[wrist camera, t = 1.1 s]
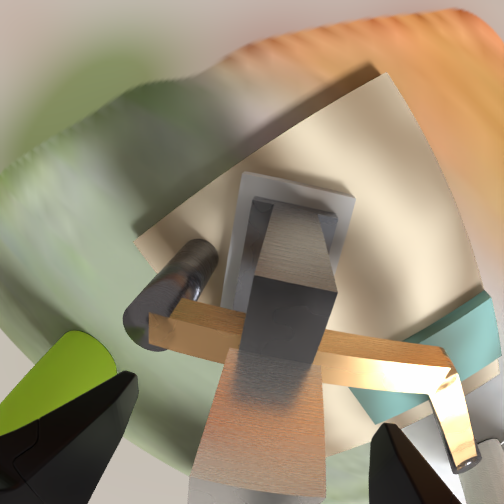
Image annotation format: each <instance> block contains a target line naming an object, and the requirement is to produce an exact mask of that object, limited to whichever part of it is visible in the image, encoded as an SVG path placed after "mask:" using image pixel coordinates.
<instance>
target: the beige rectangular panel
mask: <svg viewBox="0 0 504 504" xmlns="http://www.w3.org/2000/svg"><path fill="white" fill-rule="evenodd" d="M254 196H259V197H264V198H268V199H273V200H278V201H283V202H287V203H292V204H297V205H301V206H306V207H310V208H314V209H319V210H323V211H328V212H332V213H336V215H337V217H338V222H337V226H336V230H335V234H334V237H333V241H332V245H331V248H330V252H329V258H330V262H331V266H332V270H333V274H334V278H335V282H336V286H337V290H338V294H337V297H336V300H335V303H334V306H333V309H332V312H331V315H330V317H329V320H328V323H327V326H326V329H328V330H334V331H339V332H345V333H351V334H357V335H363V336H369V337H375V338H381V339H388V340H394V341H401V342H408V343H415V344H422V345H430V346H438V347H442V348H444V349H445V350H446V352H447V354H448V356H449V358H450V359H451V361H452V363H453V365H454V367H455V369H456V371H457V373H458V376H459V380H460V383H461V387H462V390H463V394H464V396H465V395H467V394H469V393H470V392H472V391H474V390H475V389H477V388H479V387H480V386H482V385H483V384H485V383H486V382H488V381H489V380H491V379H493V378H494V377H496V376H497V375H498V374H500V371H499V363H498V358H499V357H500V356H502V354H501V347H500V340H499V334H498V328H497V323H496V318H495V313H494V308H493V303H492V299H491V297H490V296H489V294H488V293H487V292H486V291H485V290H484V287H483V283H482V280H481V276H480V272H479V269H478V266H477V262H476V259H475V256H474V252H473V249H472V246H471V243H470V240H469V237H468V234H467V231H466V229H465V226H464V223H463V220H462V218H461V215H460V212H459V210H458V207H457V205H456V202H455V200H454V197H453V195H452V193H451V190H450V188H449V186H448V183H447V181H446V179H445V176H444V174H443V172H442V170H441V168H440V166H439V163H438V161H437V159H436V157H435V155H434V153H433V151H432V149H431V147H430V145H429V143H428V141H427V139H426V137H425V135H424V134H423V132H422V130H421V128H420V126H419V124H418V122H417V121H416V119H415V117H414V115H413V114H412V112H411V110H410V108H409V107H408V105H407V103H406V102H405V100H404V98H403V97H402V95H401V93H400V92H399V90H398V89H397V87H396V85H395V84H394V82H393V81H392V79H391V78H390V76H389V75H388V73H387V72H386V73H384V74H382V75H380V76H378V77H377V78H375V79H373V80H371V81H369V82H367V83H366V84H364V85H362V86H360V87H359V88H357V89H355V90H353V91H352V92H350V93H348V94H346V95H345V96H343V97H341V98H339V99H338V100H336V101H334V102H333V103H331V104H329V105H328V106H326V107H324V108H323V109H321V110H319V111H318V112H316V113H314V114H313V115H311V116H309V117H308V118H306V119H305V120H303V121H301V122H300V123H298V124H297V125H295V126H293V127H292V128H290V129H289V130H287V131H286V132H284V133H283V134H281V135H279V136H278V137H276V138H275V139H273V140H272V141H270V142H269V143H267V144H266V145H264V146H263V147H261V148H260V149H258V150H257V151H255V152H254V153H252V154H251V155H249V156H248V157H246V158H245V159H243V160H242V161H240V162H239V163H238V164H236V165H235V166H233V167H232V168H230V169H229V170H228V171H226V172H225V173H223V174H222V175H220V176H219V177H218V178H216V179H215V180H213V181H212V182H211V183H209V184H208V185H206V186H205V187H204V188H202V189H201V190H200V191H198V192H197V193H196V194H194V195H193V196H191V197H190V198H189V199H187V200H186V201H185V202H183V203H182V204H181V205H179V206H178V207H177V208H175V209H174V210H173V211H172V212H170V213H169V214H168V215H166V216H165V217H164V218H162V219H161V220H160V221H159V222H157V223H156V224H155V225H153V226H152V227H151V228H150V229H148V230H147V231H146V232H145V233H143V234H142V235H141V236H140V237H138V238H137V239H136V240H135V241H133V243H134V244H135V245H136V247H137V248H138V249H139V251H140V252H141V253H142V255H143V256H144V257H145V259H146V260H147V261H148V263H149V264H150V265H151V267H152V268H153V269H154V271H155V272H156V273H157V274H158V273H159V272H160V271H161V270H162V269H163V267H164V266H165V265H166V264H167V263H168V262H169V261H170V260H171V259H172V258H173V257H174V255H175V254H176V253H177V252H178V251H179V250H180V249H181V248H182V247H183V246H184V245H185V244H186V243H187V242H188V241H190V240H192V239H204V240H206V241H208V242H210V243H211V244H212V245H213V246H214V247H215V248H216V250H217V253H218V257H219V261H218V265H217V267H216V269H215V270H214V272H213V274H212V276H211V277H210V279H209V281H208V283H207V284H206V286H205V288H204V290H203V292H202V293H201V295H200V297H199V299H198V300H197V302H201V303H206V304H210V305H214V306H218V307H222V308H227V309H231V310H233V304H234V298H235V293H236V287H237V282H238V276H239V270H240V265H241V259H242V254H243V248H244V243H245V237H246V232H247V226H248V221H249V215H250V210H251V204H252V200H253V198H254ZM322 389H323V408H324V430H325V457H328V456H331V455H334V454H337V453H340V452H343V451H346V450H349V449H352V448H355V447H357V446H360V445H363V444H365V443H368V442H371V439H372V437H373V435H374V434H375V433H376V431H377V430H378V429H379V427H380V426H381V424H383V423H384V422H389V423H395V424H397V426H398V427H399V428H400V429H402V428H404V427H406V426H408V425H410V424H412V423H415V422H417V421H419V420H421V419H423V418H425V417H427V416H429V415H431V414H433V411H432V408H431V406H430V403H429V399H431V398H430V396H429V394H424V393H408V392H395V391H384V390H373V389H364V388H356V387H347V386H340V385H333V384H326V383H322Z"/></svg>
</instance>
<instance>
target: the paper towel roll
mask: <svg viewBox="0 0 504 504" xmlns="http://www.w3.org/2000/svg"><path fill="white" fill-rule="evenodd" d="M477 445H478V448H479V450H480V453H481V456H482V460H481V461H480V462H479V463H478V464H477V465H476V466H475V467H473V468H472V469H470V470H468V471H466V472H464V473H461V474H459V478H460V481H461V485H462V488H463V492H464V495H465V499H466V503H467V504H504V443H503V444H502V445H500V442H499V440H498V439H490V440H486V441H484V442H482V443H479V444H477Z"/></svg>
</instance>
